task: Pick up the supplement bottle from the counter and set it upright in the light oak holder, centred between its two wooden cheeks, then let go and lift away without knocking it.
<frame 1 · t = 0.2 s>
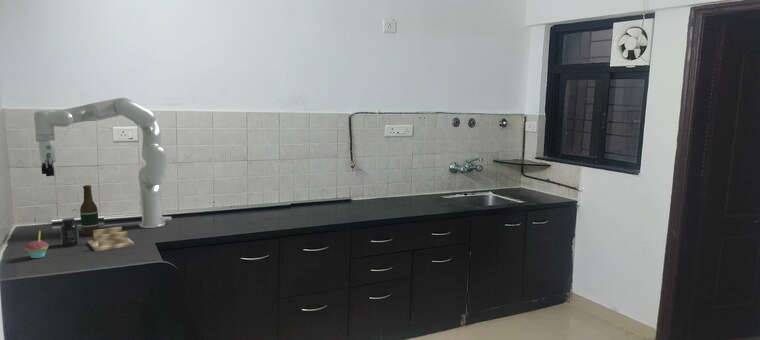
hand: (48, 174, 256), 31 cm above the table, tool pointing down, fingers open, 9 cm apart
supplement bottle: (70, 245, 251), on the table
holder: (111, 244, 251), on the table
cupcake: (37, 258, 231), on the table
beer bottle: (90, 234, 271), on the table
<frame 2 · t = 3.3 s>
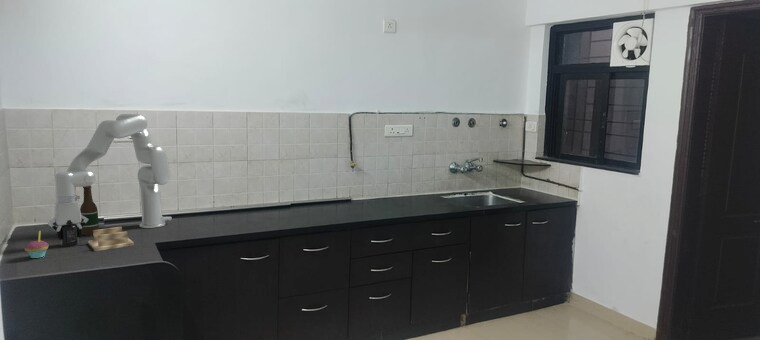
hand: (69, 237, 250), 3 cm above the table, tool pointing down, fingers closed on supplement bottle, 6 cm apart
supplement bottle: (70, 245, 251), on the table, touching gripper
everything else where it was.
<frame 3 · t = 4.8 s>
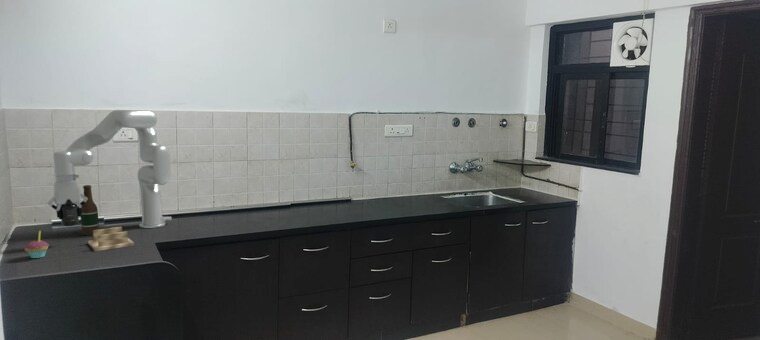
hand: (69, 217, 249), 13 cm above the table, tool pointing down, fingers closed on supplement bottle, 6 cm apart
supplement bottle: (70, 224, 250), point 9 cm above the table, touching gripper
everything else where it was.
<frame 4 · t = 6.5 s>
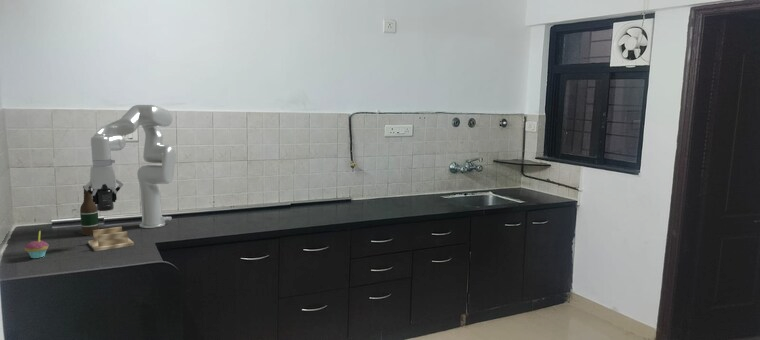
hand: (104, 202, 249), 19 cm above the table, tool pointing down, fingers closed on supplement bottle, 6 cm apart
supplement bottle: (105, 210, 249), point 16 cm above the table, touching gripper
everything else where it was.
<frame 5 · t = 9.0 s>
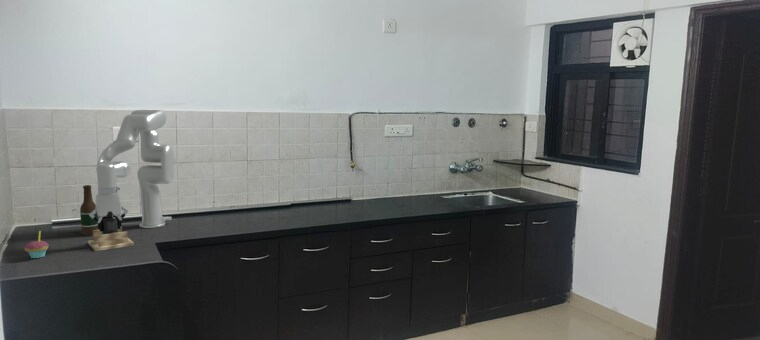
hand: (110, 229, 251), 7 cm above the table, tool pointing down, fingers closed on supplement bottle, 6 cm apart
supplement bottle: (110, 237, 251), point 3 cm above the table, touching gripper
everything else where it was.
when the fingers open (6 cm above the table, at t = 9.9 s): supplement bottle drops 1 cm, resting on holder.
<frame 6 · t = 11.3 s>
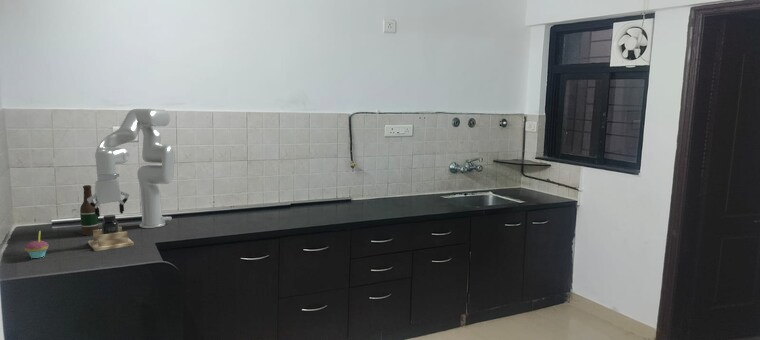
hand: (109, 214, 250), 14 cm above the table, tool pointing down, fingers open, 9 cm apart
supplement bottle: (111, 242, 251), point 1 cm above the table, touching holder
everything else where it was.
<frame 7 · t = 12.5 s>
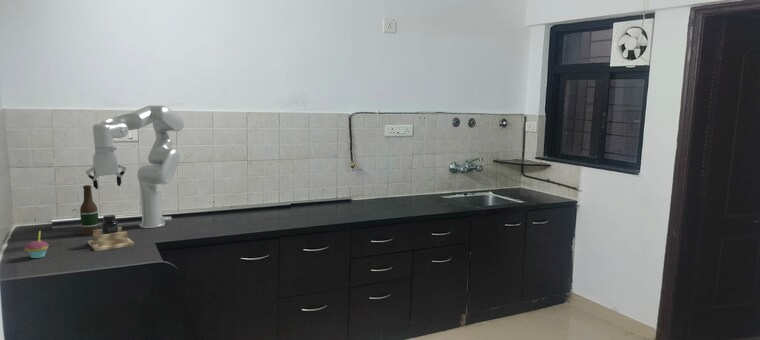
hand: (107, 187, 258), 25 cm above the table, tool pointing down, fingers open, 9 cm apart
nothing on the table moved.
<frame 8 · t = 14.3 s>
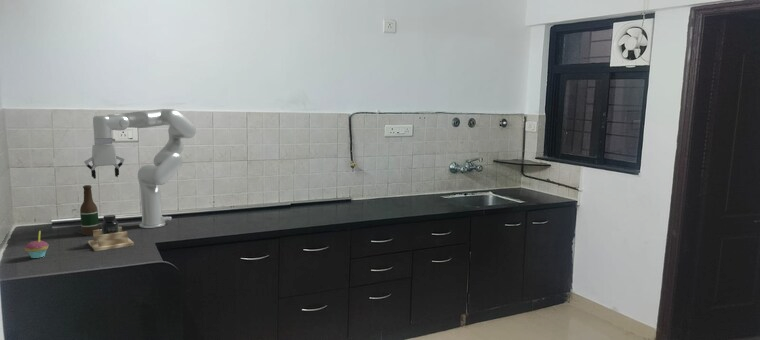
hand: (105, 177, 265), 28 cm above the table, tool pointing down, fingers open, 9 cm apart
nothing on the table moved.
at the end: supplement bottle 0.1 cm off-centre on the holder, point 1.0 cm above the holder's base; supplement bottle tilted 0°; the gripper is holding nothing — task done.
